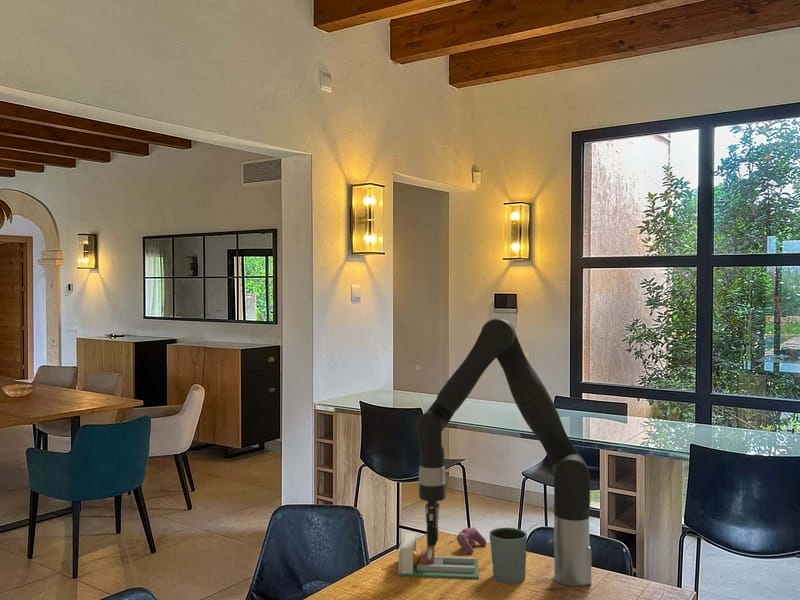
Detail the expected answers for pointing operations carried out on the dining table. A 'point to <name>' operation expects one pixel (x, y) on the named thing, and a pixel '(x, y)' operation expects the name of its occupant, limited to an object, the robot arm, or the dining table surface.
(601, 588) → the dining table surface
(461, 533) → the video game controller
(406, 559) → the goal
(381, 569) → the dining table surface
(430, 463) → the robot arm
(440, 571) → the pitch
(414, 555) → the ball
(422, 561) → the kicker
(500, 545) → the green cup
